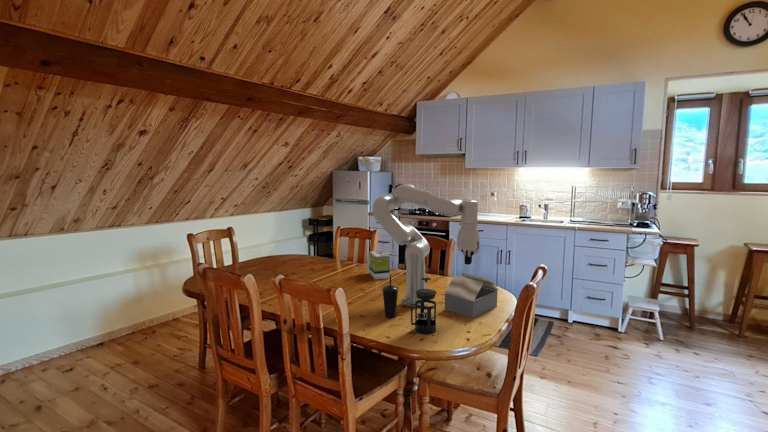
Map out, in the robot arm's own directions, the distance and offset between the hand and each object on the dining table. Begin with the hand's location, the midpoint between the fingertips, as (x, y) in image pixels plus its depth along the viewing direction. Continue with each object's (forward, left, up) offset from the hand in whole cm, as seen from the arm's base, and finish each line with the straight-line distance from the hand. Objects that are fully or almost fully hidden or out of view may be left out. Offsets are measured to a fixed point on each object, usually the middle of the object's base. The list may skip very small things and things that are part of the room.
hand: (468, 263), depth 197 cm
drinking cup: (-32, +21, -23) cm, 45 cm away
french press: (-33, 0, -23) cm, 40 cm away
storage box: (+4, 0, -23) cm, 23 cm away
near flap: (-3, 0, -12) cm, 12 cm away
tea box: (+13, +73, -23) cm, 78 cm away
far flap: (+11, 0, -12) cm, 16 cm away
